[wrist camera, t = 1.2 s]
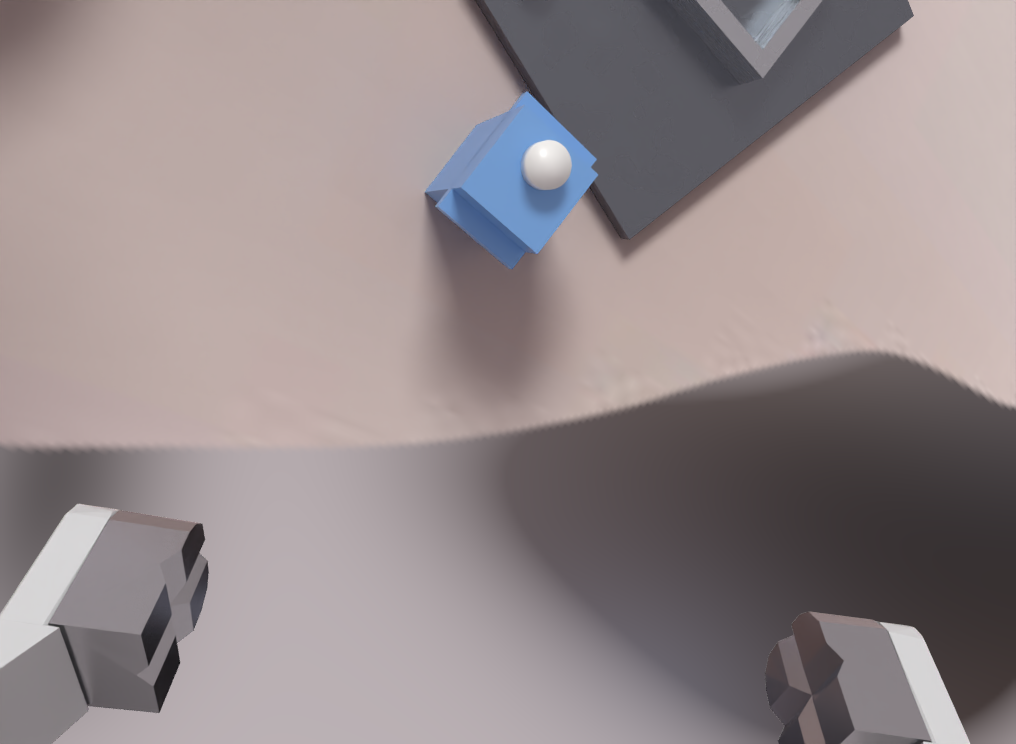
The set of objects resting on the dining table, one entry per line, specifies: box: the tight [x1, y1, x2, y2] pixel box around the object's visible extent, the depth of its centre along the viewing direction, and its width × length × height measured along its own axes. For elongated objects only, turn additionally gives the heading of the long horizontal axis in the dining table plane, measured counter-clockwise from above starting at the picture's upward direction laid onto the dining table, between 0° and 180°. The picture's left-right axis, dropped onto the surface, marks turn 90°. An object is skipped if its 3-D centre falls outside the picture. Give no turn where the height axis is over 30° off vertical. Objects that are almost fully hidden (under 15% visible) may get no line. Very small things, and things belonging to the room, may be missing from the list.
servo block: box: [425, 92, 598, 269], centre depth 35 cm, size 4×6×9 cm
